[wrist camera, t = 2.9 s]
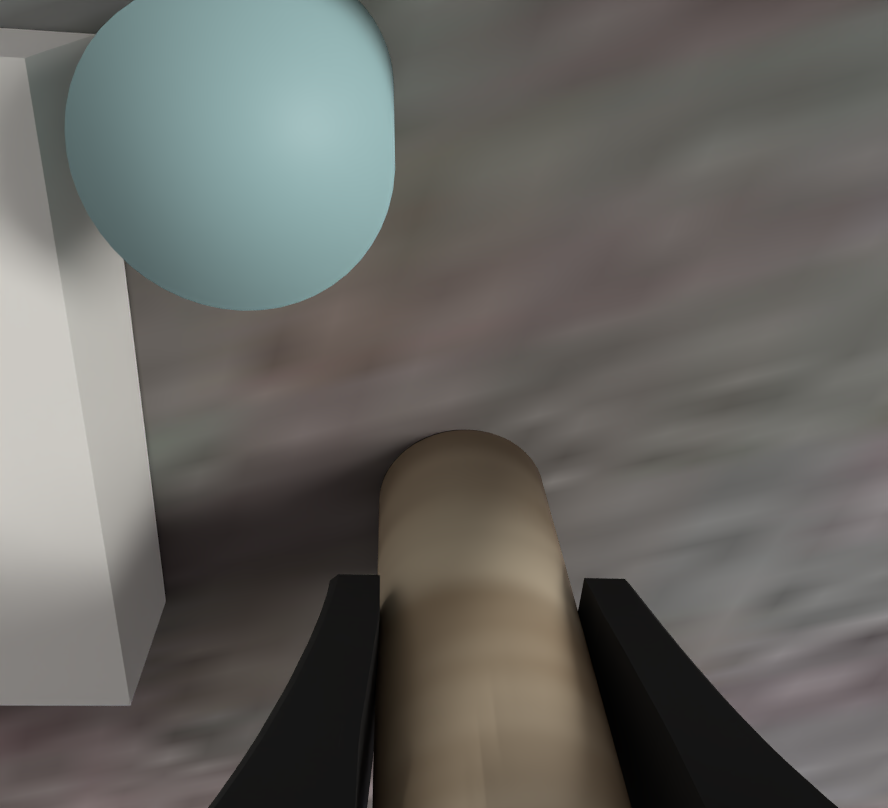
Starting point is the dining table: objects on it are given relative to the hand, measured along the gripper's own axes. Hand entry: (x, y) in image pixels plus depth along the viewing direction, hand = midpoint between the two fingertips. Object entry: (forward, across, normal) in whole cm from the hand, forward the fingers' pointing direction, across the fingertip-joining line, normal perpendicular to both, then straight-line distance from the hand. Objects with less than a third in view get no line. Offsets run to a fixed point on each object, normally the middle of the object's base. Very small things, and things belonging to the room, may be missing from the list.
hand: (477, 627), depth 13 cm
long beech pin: (+3, 0, 0) cm, 3 cm away
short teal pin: (+3, +3, -7) cm, 8 cm away
